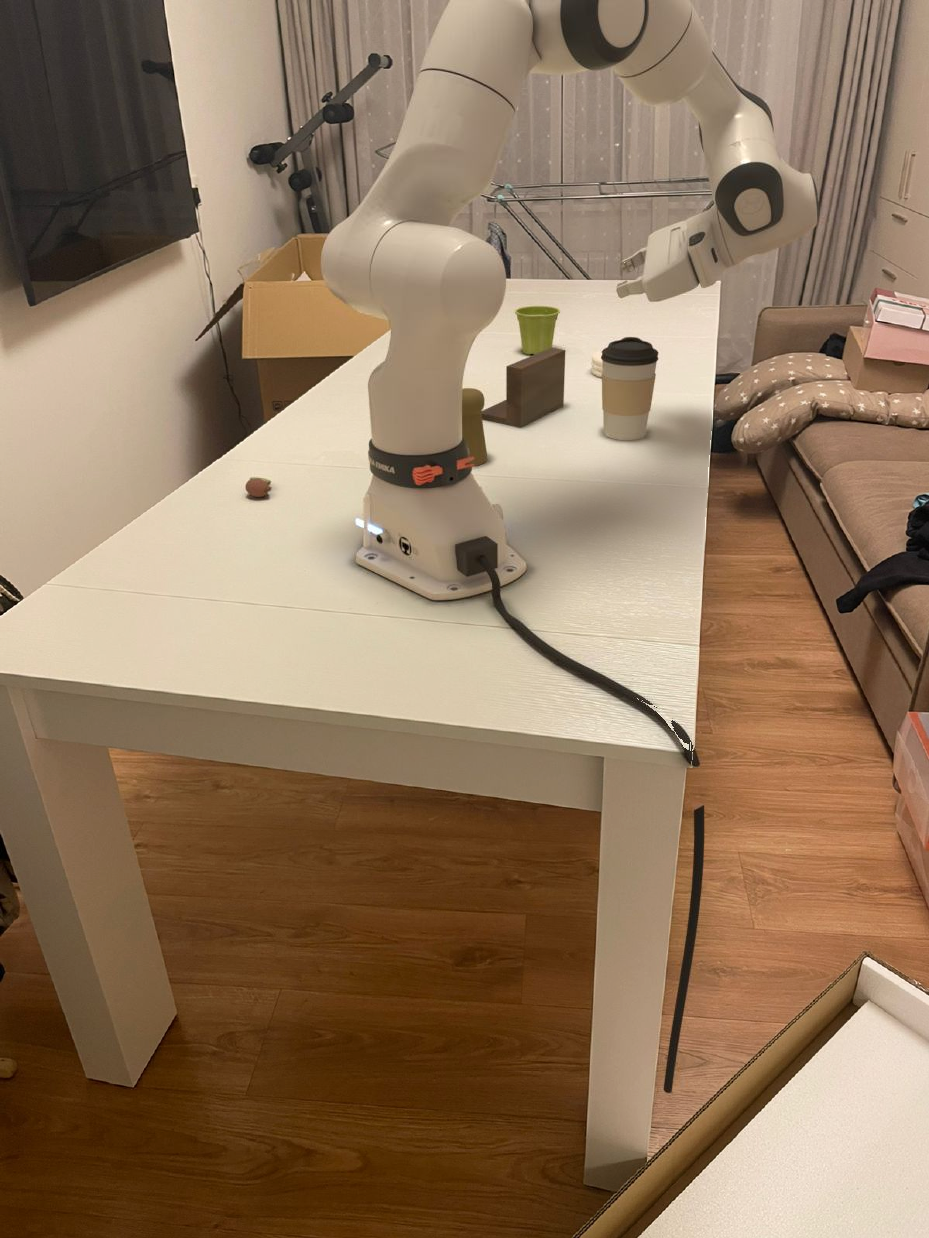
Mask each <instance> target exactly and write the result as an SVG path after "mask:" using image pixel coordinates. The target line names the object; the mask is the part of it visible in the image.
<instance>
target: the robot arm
mask: <svg viewBox="0 0 929 1238" xmlns="http://www.w3.org/2000/svg"><path fill="white" fill-rule="evenodd" d="M431 36H432V37H431V39H430V41H429V44H428V46H427V49H426V52H425V54H424V57H423V60H422V63H421V65H420V69H419V72H418V75H417V78H416V82H415V84H414V88H413V92H412V94H411V98H410V100H409V104H408V106H407V110H406V113H405V116H404V118H403V121H402V126H401V128H400V131H399V133H398V136H397V139H396V141H395V144H394V147H393V149H392V151H391V153H390V155H389V157H388V159H387V161H386V162H385V165H384V166H383V168H382V170H381V171H380V173H379V175H378V177H377V178H376V180H375V181H374V183H373V185H372V186H371V187H370V189H369V191H368V192H367V194H366V195H365V196H364V198H363V199H362V201H361V203H360V204H358V206H357V207H356V209H355V210H354V211H353V212H352V213H351V214H350V215H349V216H348V217H346V218H345V219H344V220H342V221H341V222H340V223H338V224H337V225H336V226H335V227H333V228H332V229H331V231H330V232H329V234H327V236H326V238H325V241H324V243H323V246H322V249H321V255H320V271H321V275H322V278H323V281H324V284H325V286H326V287H327V289H328V290H329V292H330V293H331V294H332V295H333V296H334V297H335V298H337V299H338V300H339V301H341V302H342V303H343V304H345V305H347V306H348V307H350V308H352V309H353V310H354V311H356V312H358V313H360V314H362V315H366V316H369V317H374V318H377V319H379V320H380V319H381V320H385V321H388V323H389V328H390V338H389V343H388V347H387V352H386V356H385V359H384V360H383V361H381V362H380V364H378V365H377V366H376V367H375V368H374V369H373V370H372V372H371V373H370V375H369V378H368V382H367V392H368V405H369V406H368V407H369V408H368V409H369V421H370V435H371V438H370V439H369V441H368V451H367V459H368V462H369V470H370V473H371V474H372V477H371V479H370V484H369V486H368V488H367V491H366V493H365V494H364V496H363V513H362V515H363V519H360V518H356V519H355V524H356V525H357V526H358V527H361V528H363V529H362V530H363V531H362V534H363V535H362V537H363V539H362V543H363V546H362V547H361V548H359V550H357V551H356V554H355V563H356V564H357V565H359V566H362V567H363V568H365V569H368V570H370V571H371V572H374V573H376V574H378V575H380V576H382V577H384V578H385V579H388V580H390V581H392V582H394V583H396V584H398V585H400V586H402V587H404V588H406V589H408V590H410V591H412V592H415V593H417V594H418V595H420V596H423V597H425V598H427V599H429V600H431V601H449V600H457V599H458V600H459V599H465V598H468V597H472V596H476V595H480V594H483V593H486V592H490V591H491V598H492V601H493V605H494V607H495V609H496V611H497V612H498V614H499V615H500V616H501V617H502V619H503V620H504V621H505V622H506V623H507V624H508V625H510V626H511V627H513V629H515V630H516V631H518V632H519V633H520V635H522V636H523V637H524V638H525V639H526V640H528V641H529V642H530V643H531V644H532V645H533V646H535V647H536V648H537V649H539V650H540V651H541V652H542V653H544V654H546V655H547V656H549V658H552V659H553V660H554V661H556V662H557V663H559V664H561V665H562V666H564V667H566V668H567V669H570V670H572V671H573V672H576V673H578V674H579V675H581V676H583V677H585V678H587V679H589V680H592V681H593V682H595V683H597V684H599V685H601V686H602V687H604V688H606V689H608V690H610V691H612V692H613V693H615V694H617V695H619V696H620V697H622V698H624V699H626V700H627V701H630V702H631V703H633V704H634V705H637V707H639V708H641V709H643V710H644V711H646V712H647V713H649V714H650V715H651V716H653V717H654V718H655V719H656V720H658V721H659V722H660V723H661V724H662V725H663V726H665V727H666V728H667V729H668V730H669V731H671V732H672V733H673V731H672V730H671V728H670V727H669V726H668V724H667V723H666V721H665V720H664V719H663V718H662V717H661V716H660V715H659V714H658V713H657V712H656V711H654V710H653V709H652V708H650V707H649V706H648V705H646V704H645V703H647V704H649V705H653V704H654V703H653V702H652V703H653V704H652V703H650V702H651V701H650V700H649V699H647V698H646V699H647V700H646V699H645V697H644V696H642V695H641V694H639V693H637V692H635V691H634V690H632V689H630V688H628V687H626V686H624V685H622V684H620V683H619V682H617V681H615V680H613V679H612V678H610V677H609V676H606V675H604V674H603V673H600V672H599V671H597V670H594V669H592V668H590V667H589V666H586V665H584V664H583V663H580V662H578V661H576V660H575V659H573V658H570V657H569V656H567V655H566V654H564V653H563V652H560V651H559V650H558V649H556V648H554V647H553V646H552V645H550V644H549V643H547V642H546V641H544V640H543V639H542V638H540V637H539V636H538V635H537V634H535V633H534V632H533V631H532V630H531V629H530V628H528V626H526V625H525V624H524V623H523V622H522V621H521V620H519V619H518V618H516V617H515V616H514V615H512V614H510V613H509V612H508V611H507V609H506V606H505V604H504V602H503V599H502V596H501V588H502V587H503V586H505V585H508V584H509V583H510V584H511V582H514V581H515V580H517V579H518V578H520V577H521V576H523V574H524V573H525V572H526V570H527V563H526V561H525V560H524V559H523V558H522V556H520V554H519V553H517V552H516V551H515V550H514V549H513V548H512V547H511V546H510V545H509V544H508V543H507V537H506V536H507V535H506V529H505V524H504V522H503V520H504V511H503V508H502V506H501V504H499V503H494V504H492V503H491V501H490V500H489V498H488V497H487V495H486V494H485V492H484V490H483V487H482V486H481V485H480V484H479V483H478V482H477V480H476V478H475V477H474V475H473V473H472V471H473V467H475V466H474V465H475V464H471V461H472V460H473V459H475V458H474V457H469V454H470V453H469V449H468V447H467V444H466V440H465V438H464V436H463V435H462V389H463V383H464V374H465V369H466V364H467V360H468V358H469V354H470V352H471V349H472V347H473V344H474V342H475V341H476V338H478V336H479V335H480V333H481V332H482V331H484V329H486V328H487V327H489V325H490V324H491V323H492V322H493V321H494V320H495V318H496V317H497V316H498V314H499V312H500V310H501V308H502V306H503V303H504V300H505V298H506V297H505V296H506V292H507V291H506V290H507V273H506V268H505V264H504V261H503V259H502V257H501V254H500V253H499V251H498V250H497V249H496V248H495V247H494V246H493V245H492V244H491V243H489V242H487V241H485V240H484V239H481V238H480V237H478V236H476V235H474V234H472V233H470V232H467V231H466V230H463V229H461V228H458V227H453V226H451V225H452V223H453V222H454V220H455V219H456V218H457V217H458V215H459V214H460V213H461V212H462V211H463V209H464V208H465V207H467V206H468V204H470V203H471V202H473V201H474V200H476V199H478V198H479V197H480V196H482V195H483V194H484V193H485V192H486V191H487V190H488V188H490V186H491V184H492V183H493V180H494V179H495V178H494V177H495V175H496V172H497V169H498V166H499V163H500V161H501V158H502V157H501V156H502V154H503V151H504V148H505V145H506V142H507V139H508V136H509V133H510V130H511V127H512V124H513V122H514V121H513V120H514V117H515V115H516V111H517V108H518V105H519V101H520V98H521V94H522V92H523V88H524V83H525V80H526V78H527V77H528V76H529V74H532V75H533V74H534V75H551V76H555V77H556V76H557V77H558V76H568V75H574V74H579V73H584V72H587V71H595V72H596V71H602V70H605V69H606V70H607V69H609V68H611V70H612V71H613V73H614V74H615V76H616V77H617V78H618V80H619V81H620V82H621V84H622V85H623V86H624V87H625V88H626V90H628V92H629V93H630V94H632V96H633V97H635V98H636V99H637V100H638V101H639V102H641V103H642V104H644V105H645V106H646V107H654V108H655V107H659V108H660V107H666V106H669V105H673V104H676V103H677V102H679V101H681V100H682V101H683V102H684V104H685V105H686V106H687V108H689V110H690V111H691V112H692V114H693V116H695V118H696V120H697V121H698V135H699V141H700V146H701V149H702V151H703V154H704V160H705V165H706V171H707V176H708V182H709V187H710V193H711V198H712V200H713V203H714V205H715V206H714V207H712V208H709V209H707V210H705V211H702V212H700V213H698V214H695V215H693V216H691V217H688V218H687V219H685V220H681V221H677V222H676V223H673V224H670V225H668V226H664V227H662V228H660V229H657V230H655V231H654V232H652V233H651V234H649V235H648V237H647V244H646V246H645V247H641V248H640V249H639V250H638V251H637V252H635V253H634V254H632V255H631V256H629V257H626V258H625V259H623V260H621V263H620V268H621V270H622V273H623V274H624V275H626V274H629V273H631V272H634V271H635V270H636V268H639V267H641V266H642V265H643V271H642V275H641V276H638V277H637V278H636V279H633V280H629V281H628V280H624V281H622V282H619V283H617V285H616V290H615V291H616V294H617V297H618V298H620V299H623V298H626V297H629V296H634V295H635V296H636V295H642V294H645V295H646V298H647V300H648V302H650V303H658V302H662V301H663V302H664V301H665V300H669V299H671V298H675V297H677V296H681V295H683V294H686V293H688V292H691V291H694V290H695V289H696V288H697V287H698V286H699V285H700V287H701V289H706V288H709V287H711V286H713V285H715V284H716V283H717V281H718V279H719V278H720V277H721V275H722V274H723V273H724V272H726V271H727V270H728V269H729V268H732V267H734V266H737V265H739V264H740V263H742V262H743V261H744V260H746V259H748V258H749V257H752V256H755V255H756V256H757V255H763V254H767V253H769V252H772V251H774V250H777V249H780V248H782V247H784V246H787V245H788V244H790V243H793V242H794V241H796V240H798V239H800V238H802V237H804V236H805V235H807V234H808V233H809V232H811V231H812V230H813V229H815V227H817V225H818V222H819V219H820V201H819V193H818V188H817V185H816V184H817V183H816V181H815V179H814V176H813V175H812V174H811V173H809V172H806V173H803V172H801V171H799V170H797V169H795V168H793V167H792V166H790V165H789V164H788V163H787V162H786V161H785V160H784V158H782V157H780V154H779V153H780V152H779V150H778V145H777V140H776V137H775V131H774V121H773V114H772V111H771V108H770V106H769V105H768V103H766V101H765V100H763V99H762V98H761V97H759V96H758V95H756V94H754V93H753V92H750V91H748V90H747V89H745V88H743V87H742V86H740V85H739V84H738V83H737V82H736V81H735V80H734V79H733V77H732V76H731V75H730V74H729V72H728V71H727V69H726V67H724V64H723V63H722V62H721V61H720V59H719V58H718V57H717V55H716V54H715V52H714V51H713V49H712V45H711V43H710V39H709V36H708V33H707V31H706V29H705V26H704V24H703V22H702V19H701V18H700V16H699V14H698V12H697V10H696V8H695V7H694V5H693V3H692V2H691V0H449V1H448V3H447V5H446V6H445V8H444V10H443V13H442V14H441V17H440V19H439V21H438V23H437V25H436V27H435V30H434V31H433V34H432V35H431ZM637 698H638V699H639V700H638V699H637ZM642 700H643V701H642ZM648 700H649V701H648ZM641 701H642V702H641ZM643 702H645V703H643ZM654 707H655V706H654ZM657 707H658V706H657ZM657 707H656V708H657ZM675 721H676V720H675ZM675 721H673V720H672V721H671V722H672V723H671V724H672V726H673V727H674V728H673V729H674V731H675V732H676V734H677V735H678V737H679V738H680V739H682V740H683V742H684V743H687V744H689V750H687V749H686V748H684V747H683V745H682V744H681V743H680V745H681V747H682V750H683V752H684V754H685V756H686V759H687V763H688V764H689V765H690V766H692V767H695V768H698V767H699V766H700V765H701V762H700V758H699V755H698V753H697V751H696V748H695V747H694V750H693V751H692V749H693V746H694V744H693V745H692V743H693V741H692V740H690V739H691V738H690V736H689V734H688V733H687V731H686V730H685V729H684V728H683V726H681V724H680V723H678V722H677V721H676V722H677V723H676V722H675ZM690 742H691V751H690ZM692 752H693V760H692ZM691 761H692V765H691ZM692 859H693V860H692V875H691V891H690V898H689V909H688V910H689V911H688V917H687V927H686V933H685V934H686V935H685V942H684V949H683V956H682V962H681V966H680V967H681V969H680V974H679V980H678V987H677V992H676V999H675V1005H674V1011H673V1016H672V1017H673V1018H672V1023H671V1024H672V1025H671V1031H670V1037H669V1043H668V1050H667V1051H668V1052H667V1059H666V1065H665V1073H664V1080H663V1081H664V1082H663V1089H662V1090H663V1091H664V1093H666V1094H671V1093H672V1091H673V1085H674V1078H675V1071H676V1070H675V1069H676V1063H677V1055H678V1049H679V1042H680V1037H681V1031H682V1030H681V1029H682V1024H683V1019H684V1018H683V1017H684V1012H685V1007H686V1001H687V994H688V989H689V982H690V977H691V971H692V965H693V958H694V951H695V946H696V945H695V944H696V940H697V939H696V938H697V931H698V925H699V924H698V923H699V915H700V906H701V897H702V889H703V877H704V876H703V875H704V863H705V862H704V860H705V804H703V805H701V806H699V807H697V808H696V809H693V858H692Z"/></svg>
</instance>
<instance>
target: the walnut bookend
mask: <svg viewBox="0 0 929 1238" xmlns="http://www.w3.org/2000/svg"><path fill="white" fill-rule="evenodd" d="M505 370H506V371H505V375H506V376H505V377H506V378H505V379H506V380H505V383H506V384H505V385H506V387H505V396H506V397H505V398H506V399H505V400H502V401H500V402H498V403H496V404H494V405H492V406H489V407H487V408H485V409H482V411H481V415H482V420H484V421H490V422H493V423H498V424H503V425H507V426H512V427H516V428H523V427H524V426H526V425H528V424H531V423H533V422H535V421H537V420H538V419H540V418H542V417H544V416H546V415H549V414H551V413H552V412H555V411H556V410H558V409H560V408H563V407H564V404H565V403H564V402H565V378H566V377H565V375H566V349H561V348H554V347H552V348H549V349H547V350H545V351H542V352H540V353H537V354H533V355H530V356H528V357H526V358H523V359H521V360H519V361H516V362H513V363H510V364H509V365H506V368H505Z"/></svg>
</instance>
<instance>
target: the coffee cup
mask: <svg viewBox="0 0 929 1238" xmlns="http://www.w3.org/2000/svg"><path fill="white" fill-rule="evenodd" d="M602 350H603V351H602ZM602 350H601V351H602V356H601V359H602V366H603V372H602V377H601V407H602V408H601V409H602V414H603V415H602V416H603V418H602V419H603V420H602V421H603V436H605V437H607V438H610V439H613V440H616V441H617V440H618V441H635V440H640V439H642V438H644V437H645V436H646V434H647V428H648V421H649V416H650V415H649V414H650V411H651V408H652V401H653V396H654V388H655V383H656V376H657V374H656V370H657V363H658V361H659V351H658V350H657V349H656V348H654V346H653V344H652V343H651V342H648V341H646V340H642V339H641V338H639V337H636V336H626V337H623V338H621V339H618V340H614V341H611V342H609V343H608V346H607V347H605V348H603V349H602Z"/></svg>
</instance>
